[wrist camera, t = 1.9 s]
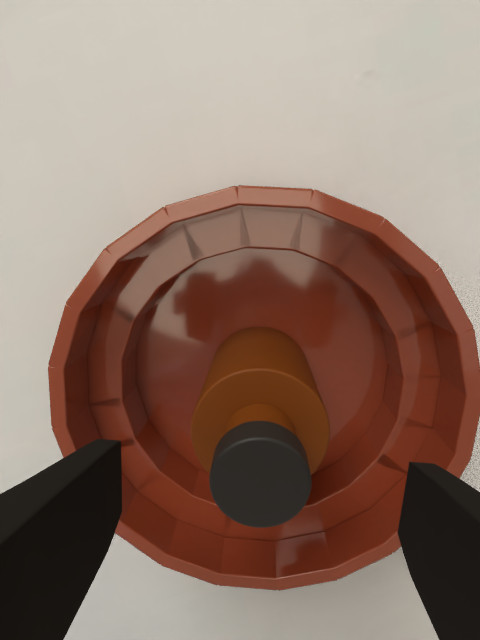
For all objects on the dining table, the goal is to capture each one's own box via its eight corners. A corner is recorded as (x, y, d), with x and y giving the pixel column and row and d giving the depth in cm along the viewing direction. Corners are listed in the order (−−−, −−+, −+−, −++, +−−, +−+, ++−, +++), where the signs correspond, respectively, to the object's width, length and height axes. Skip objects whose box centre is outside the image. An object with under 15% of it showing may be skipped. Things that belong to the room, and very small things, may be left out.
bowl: (400, 521, 20) (442, 605, 15) (102, 498, 20) (59, 572, 16) (453, 208, 16) (524, 199, 12) (93, 190, 17) (35, 174, 12)
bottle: (304, 421, 18) (338, 565, 10) (209, 414, 18) (172, 552, 10) (312, 329, 17) (358, 410, 9) (212, 322, 17) (174, 398, 9)
